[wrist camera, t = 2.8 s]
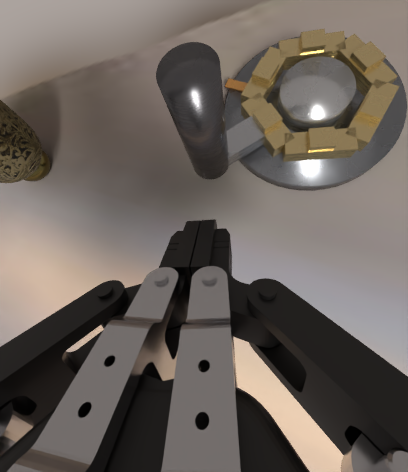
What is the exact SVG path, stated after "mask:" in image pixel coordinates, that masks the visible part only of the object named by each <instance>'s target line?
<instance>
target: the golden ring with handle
mask: <svg viewBox="0 0 408 472" xmlns="http://www.w3.org/2000/svg"><path fill="white" fill-rule="evenodd" d="M312 57H330V58H334V59H337V60H339V61H341V62H343V63H344V64H346V65H347V66H348V67H349V68H350V69H351V71H352V72H353V74H354V76H355V80H356V88H357V89H358V91H359V92H360V93H361V94H362V95H363V96H364V98H363V99H362V101H361V103H360V105H359V106H358V108H357V110H356V112H355V114H354V115H353V117H352V119H351V121H350V123H349V124H348V126H347V128H343V129H335V128H334V126H333V127H322V128H310V129H309V130H308V132H297V133H291V132H290V131H289V130H288V128H287V127H286V126H285V124H284V123H283V122H282V120H283V118H282V117H281V116H280V114H279V113H278V112H277V110H276V109H275V108H274V107H273V105H272V104H271V103H269V104H268V103H267V101H266V99H267V97H268V96H269V94H270V92H271V91H272V89H273V87H274V86H275V84H276V82H277V80H278V79H279V77H280V75H281V74H282V72H283V70H288V69H290V68H291V67H292V66H294V65H295V64H297V63H298V62H300V61H302V60H305V59H308V58H312ZM385 57H386V56H385V55H384V54H383V53H382V52H381V51H380V50H379V49H378V48H377V47H376V46H375V45H374V44H373V43H372V42H371V41H370V42H369V43H367V44H365V43H363V42H362V41H361V40H360V39H359V38H358V37H357V36H356V35H355V34H354V35H352V36H350V37H349V38H347V39H346V40H345V36H344V31H340V32H334V33H327V34H325V30H324V29H320V30H313V31H307V32H301V35H300V38H294V39H288V40H281V41H279V44H278V49H277V48H274V47H269V49H268V51H267V52H266V54H265V56H264V57H262V58H261V60H260V61H259V63H258V65H257V66H256V68H255V70H254V71H253V73H252V77H251V79H250V80H249V82H248V84H247V85H246V87H245V89H244V90H243V92H242V94H241V115H242V116H243V117H244V119H245V120H244V121H242V122H240V123H239V124H237V125H235V126H234V127H232V128H231V129H229V130H227V131H226V122H225V111H224V101H223V90H222V80H221V70H220V61H219V57H218V55H217V53H216V52H215V51H214V50H213V49H212V48H211V47H210V46H208V45H206V44H203V43H198V42H190V43H185V44H181V45H179V46H177V47H175V48H173V49H172V50H170V51H169V52H168V53H167V54H166V55H165V56H164V57H163V58H162V60H161V61H160V63H159V65H158V68H157V72H156V79H157V83H158V86H159V88H160V90H161V93H162V95H163V97H164V100H165V102H166V104H167V107H168V109H169V111H170V114H171V116H172V118H173V121H174V123H175V125H176V128H177V130H178V132H179V135H180V137H181V139H182V142H183V144H184V146H185V149H186V151H187V153H188V155H189V158H190V160H191V162H192V165H193V167H194V169H195V171H196V173H197V174H198V175H199V176H200V177H202V178H204V179H216V178H218V177H220V176H222V175H223V174H224V173H225V172H226V170H227V169H228V166H229V165H230V164H232V163H233V162H235V161H237V160H238V159H240V158H242V157H243V156H245V155H246V154H248V153H250V152H251V151H253V150H255V149H256V148H258V147H260V146H261V145H264V146H265V148H266V149H267V150H268V152H269V153H270V154H271V156H272V157H275V156H276V155H278V154H280V153H281V152H282V158H283V162H288V161H304V160H319V159H334V158H349V157H351V156H352V155H353V154H354V153H355V152H356V151H357V150H358V151H361V150H362V149H363V148H364V147H365V146H366V145H367V144H368V143H369V142H370V140H371V138H372V136H373V134H374V133H375V131H376V129H377V127H378V125H379V123H380V122H381V120H382V118H383V116H384V114H385V112H386V111H387V109H388V107H389V105H390V103H391V101H392V100H393V98H394V96H395V94H396V92H397V90H398V88H399V87H400V86H397V85H394V84H392V83H393V82H394V81H395V79H396V78H397V77H398V76H397V75H396V74H395V73H394V72H393V71H392V70H391V69H390V68H389V67H388V66H387V65H386V64H385V63H384V62H383V60H384V59H385Z"/></svg>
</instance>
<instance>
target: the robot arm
mask: <svg viewBox="0 0 408 472" xmlns="http://www.w3.org/2000/svg"><path fill="white" fill-rule="evenodd" d="M100 325H102V326H103V328H104V330H103V331H102V332H100V333H99V334H98V335H96V336H95V337H94V338H92V339H91V340H90V341H88V342H87V343H86V344H84V345H83V346H82V347H80V348H79V349H78V350H76V351H74V352H66V350H67V349H68V348H70V347H71V346H72V345H74V344H75V343H76V342H78V341H79V340H80V339H82V338H83V337H85V336H86V335H87V334H89V333H90V332H91V331H93V330H94V329H95V328H97V327H98V326H100ZM233 336H234V337H236V338H239V339H242V340H244V341H247V342H249V343H250V345H251V347H252V348H253V350H254V351H255V352H256V353H257V354H258V356H259V357H260V358H261V359H262V360H263V361H264V363H265V364H266V365H267V366H268V367H269V368H270V370H271V371H272V372H273V373H274V374H275V375H276V377H277V378H278V379H279V380H280V381H281V382H282V384H283V385H284V386H285V387H286V388H287V389H288V391H289V392H290V393H291V394H292V395H293V396H294V398H295V399H296V400H297V401H298V402H299V403H300V405H301V406H302V407H303V408H304V409H305V410H306V412H307V413H308V414H309V415H310V416H311V417H312V419H313V420H314V421H315V422H316V423H317V424H318V426H319V427H320V428H321V429H322V430H323V431H324V433H325V434H326V435H327V436H328V437H329V438H330V440H331V441H332V442H333V443H334V444H335V445H336V447H337V448H338V449H339V450H340V451H341V452H342V454H343V455H344V456H343V459H342V463H341V472H408V377H407V376H406V375H405V374H403V373H402V372H401V371H399V370H398V369H397V368H395V367H394V366H393V365H391V364H390V363H388V362H387V361H386V360H384V359H383V358H382V357H380V356H379V355H378V354H376V353H375V352H374V351H372V350H371V349H370V348H368V347H367V346H365V345H364V344H363V343H361V342H360V341H359V340H357V339H356V338H355V337H353V336H352V335H351V334H349V333H348V332H347V331H345V330H344V329H342V328H341V327H340V326H338V325H337V324H336V323H334V322H333V321H332V320H330V319H329V318H328V317H326V316H325V315H324V314H322V313H321V312H319V311H318V310H317V309H315V308H314V307H313V306H311V305H310V304H309V303H307V302H306V301H305V300H303V299H302V298H300V297H299V296H298V295H296V294H295V293H294V292H292V291H291V290H290V289H288V288H287V287H286V286H284V285H283V284H281V283H280V282H278V281H276V280H273V279H258V280H256V281H254V282H252V283H251V284H250V285H249V284H245V283H241V282H239V281H237V280H235V279H234V278H233V277H232V254H231V242H230V234H229V232H228V231H227V229H217V224H216V220H202V221H187V222H186V224H185V227H184V230H183V231H177V232H176V233H175V234H174V235H173V236H172V237H171V239H170V242H169V245H168V247H167V250H166V251H165V254H164V256H163V259H162V261H161V264H160V266H159V268H158V269H156V270H154V271H152V272H151V273H149V274H148V275H147V276H146V278H145V280H144V282H143V283H142V284H139V285H136V286H132V287H128V288H125V287H124V285H123V284H122V283H121V282H120V281H116V280H112V281H107V282H104V283H102V284H100V285H98V286H97V287H95V288H94V289H92V290H90V291H89V292H87V293H86V294H84V295H82V296H81V297H79V298H78V299H76V300H74V301H73V302H71V303H70V304H68V305H66V306H65V307H63V308H62V309H60V310H58V311H57V312H55V313H54V314H52V315H51V316H49V317H47V318H46V319H44V320H43V321H41V322H39V323H38V324H36V325H35V326H33V327H31V328H30V329H28V330H27V331H25V332H23V333H22V334H20V335H19V336H17V337H15V338H14V339H12V340H11V341H9V342H8V343H6V344H4V345H3V346H1V347H0V472H309V470H308V469H307V467H306V466H305V464H304V463H303V461H302V460H301V458H300V457H299V456H298V454H297V453H296V451H295V450H294V448H293V447H292V445H291V444H290V442H289V441H288V439H287V438H286V437H285V435H284V434H283V432H282V431H281V429H280V428H279V426H278V425H277V423H276V422H275V420H274V419H273V418H272V416H271V415H270V414H269V412H268V411H267V410H266V409H265V408H264V407H263V406H262V405H261V404H260V403H259V402H258V401H257V400H256V399H255V398H254V397H252V396H251V395H250V394H248V393H247V392H245V391H243V390H241V389H239V388H237V377H236V366H235V353H234V340H233Z"/></svg>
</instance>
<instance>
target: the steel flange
mask: <svg viewBox="0 0 408 472" xmlns="http://www.w3.org/2000/svg"><path fill="white" fill-rule="evenodd" d="M295 38H300V37H295ZM291 39H294V38H291ZM346 39H347V38H345V40H346ZM278 44H279V43H277V44H275V45H273V46H271V47H274V48H277V49H278ZM268 49H269V48H267V49H265V50H264V51H262V52H261V53H259V54H258V55H256V56H255V57H254V58H253V59H252V60H250V61H249V62H248V63H247V64H246V65H245V66H244V67H243V69H242V70H241V71H240V72H239V74H238V75H237V76H236V78H235V79H234V80H233V79H230V78H229V79H228V81H227V83H226V85H225V87H227V88H230V90H229V92H228V95H227V99H226V103H225V122H226V131H227V130H229V129H231V128H232V127H234V126H235V125H237V124H239V123H240V122H242V121H244V120H245V119H244V117H243V116H242V115H241V94H242V92H243V90H244V89H245V87H246V85H247V84H248V82H249V80H250V79H251V77H252V73H253V71H254V70H255V68H256V66H257V65H258V63H259V61H260V60H261V58H262V57H264V56H265V54H266V52H267V51H268ZM383 62H384V63H385V64H386V65H387V66H388V67H389V68H390V69H391V70H392V71H393V72H394V73H395V74H396V75H397V76H398V77H397V78H396V79H395V81H394V82H393V83H392V84H394V85H397V86H400V87H399V88H398V90H397V92H396V94H395V96H394V98H393V100H392V101H391V103H390V105H389V107H388V109H387V111H386V112H385V114H384V116H383V118H382V120H381V122H380V123H379V125H378V127H377V129H376V131H375V133H374V134H373V136H372V138H371V140H370V142H369V143H368V144H367V145H366V146H365V147H364V148H363V149H362V150H361V151H358V150H357V151H356V152H355V153H354V154H353V155H352V156H351V157H349V158H334V159H319V160H304V161H288V162H283V158H282V152H281V153H280V154H278V155H276V156H275V157H272V156H271V154H270V153H269V152H268V150H267V149H266V148H265V146H264V145H261V146H260V147H258V148H256V149H255V150H253V151H251V152H250V153H248V154H246V155H245V156H243V157H242V158H240V159H239V161H240V162H241V163H242V164H243V165H244V166H245V167H246V168H247V169H248V170H249V171H250V172H252V173H253V174H255V175H256V176H257V177H259V178H261V179H263V180H265V181H266V182H269V183H271V184H274V185H277V186H280V187H284V188H288V189H295V190H320V189H327V188H331V187H336V186H339V185H342V184H344V183H347V182H349V181H351V180H353V179H355V178H357V177H359V176H361V175H362V174H364V173H365V172H367V171H368V170H370V169H371V168H372V167H373V166H374V165H376V164H377V163H378V162H379V161H380V160H381V159H382V158H384V157H385V156H386V154H387V153H388V152H389V151H390V150H391V149H392V147H393V146H394V144H395V143H396V141H397V140H398V138H399V136H400V134H401V131H402V129H403V127H404V123H405V119H406V111H407V101H406V94H405V90H404V86H403V83H402V81H401V79H400V77H399V75H398V73H397V72H396V70H395V69H394V67H393V66H392V65H391V64H390V63H389V62H388V60H387V59H386V58H385V59H384V60H383ZM363 98H364V96H363V95H362V94H361V93H360V92H359V91H358V89H357V88H356V80H355V76H354V74H353V72H352V71H351V69H350V68H349V67H348V66H347V65H346V64H344V63H343V62H341V61H339V60H337V59H334V58H330V57H312V58H308V59H305V60H302V61H300V62H298V63H297V64H295V65H294V66H292V67H291V68H290V69H288V70H283V72H282V74H281V75H280V77H279V79H278V80H277V82H276V84H275V86H274V87H273V89H272V91H271V92H270V94H269V96H268V97H267V99H266V101H267V103H268V104H269V103H271V104H272V105H273V107H274V108H275V109H276V110H277V112H278V113H279V114H280V116H281V117H282V118H283V120H282V122H283V123H284V124H285V126H286V127H287V128H288V130H289V131H290V132H291V133H297V132H308V130H309V129H310V128H322V127H333V126H334V128H335V129H343V128H347V126H348V124H349V123H350V121H351V119H352V117H353V115H354V114H355V112H356V110H357V108H358V106H359V105H360V103H361V101H362V99H363Z"/></svg>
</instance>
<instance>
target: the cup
mask: <svg viewBox="0 0 408 472" xmlns="http://www.w3.org/2000/svg"><path fill="white" fill-rule="evenodd" d="M50 165H51V163H50V159H49V157H48V156H47V154H46V153H45V152H44V151H43V150H42V147H41V143H40V141H39V139H38V137H37V135H36V134H35V132H34V131H33V130H32V129H31V127H30V126H29V125H28V124H27V123H26V122H25V121H24V120H23V119H21V118H20V117H19V116H18V115H17V114H16V113H15V112H14V111H13V110H11V109H10V108H9V107H8V106H7V105H6V104H5V103H3V102H2V101H1V100H0V183H13V182H18V181H21V180H26V181H38V180H41V179H42V178H44V177H45V176H46V175H47V174H48V172H49V170H50Z"/></svg>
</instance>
